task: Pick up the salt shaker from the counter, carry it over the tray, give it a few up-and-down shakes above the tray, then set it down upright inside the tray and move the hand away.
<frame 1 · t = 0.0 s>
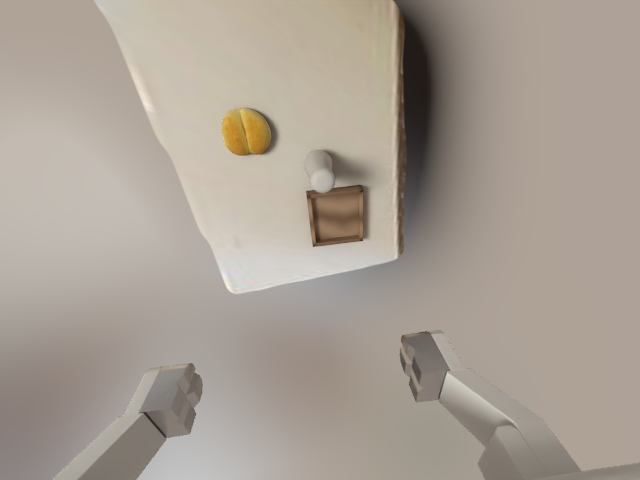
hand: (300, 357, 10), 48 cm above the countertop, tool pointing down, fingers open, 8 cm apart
salt shaker: (317, 161, 54), on the countertop
tray: (335, 214, 61), on the countertop
bread roll: (246, 132, 50), on the countertop
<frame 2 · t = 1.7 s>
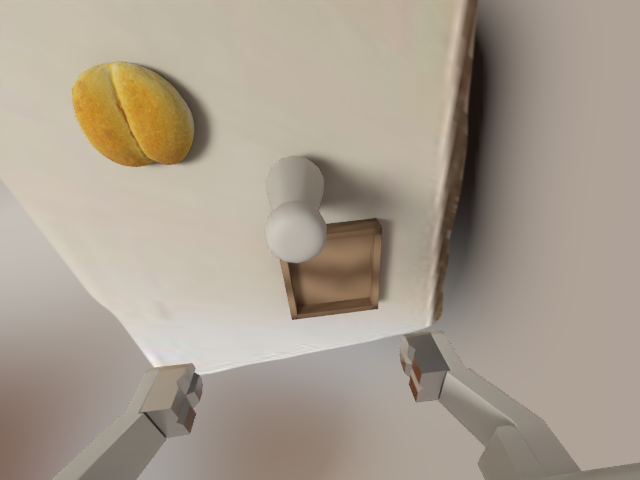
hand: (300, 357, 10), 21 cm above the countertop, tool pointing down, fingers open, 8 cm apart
salt shaker: (295, 177, 28), on the countertop
tray: (330, 266, 35), on the countertop
bread roll: (144, 118, 24), on the countertop
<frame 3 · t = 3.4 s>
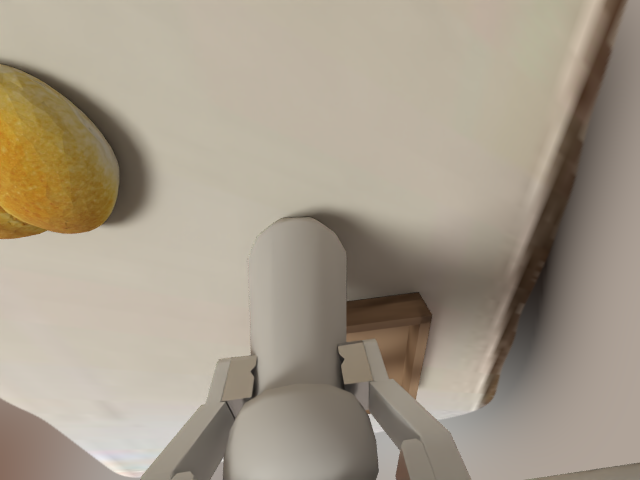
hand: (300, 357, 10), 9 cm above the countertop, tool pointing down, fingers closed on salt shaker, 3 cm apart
salt shaker: (297, 241, 18), on the countertop, touching gripper
tray: (347, 352, 24), on the countertop
bread roll: (32, 155, 14), on the countertop
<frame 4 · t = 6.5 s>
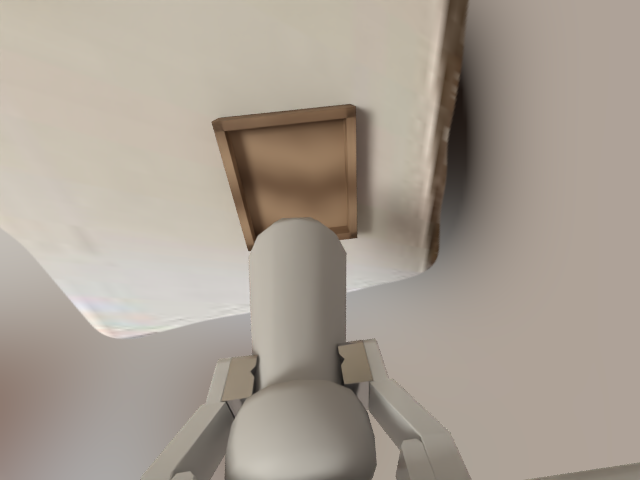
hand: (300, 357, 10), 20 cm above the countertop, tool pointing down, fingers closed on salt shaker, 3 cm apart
salt shaker: (297, 241, 18), point 11 cm above the countertop, touching gripper
tray: (294, 179, 27), on the countertop
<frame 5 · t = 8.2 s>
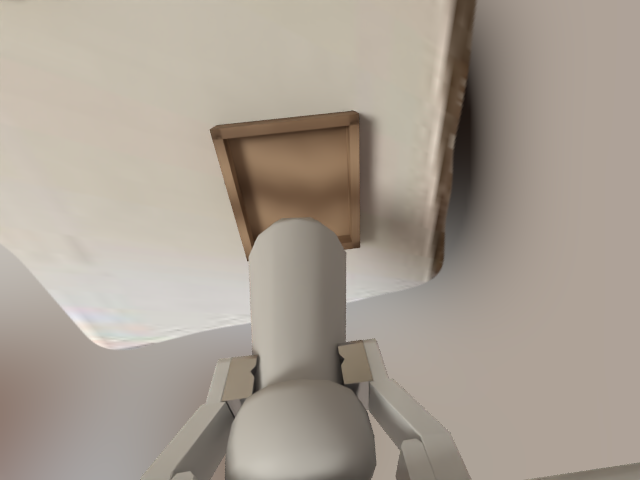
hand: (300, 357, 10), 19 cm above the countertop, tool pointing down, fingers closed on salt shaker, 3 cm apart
salt shaker: (297, 241, 18), point 10 cm above the countertop, touching gripper
tray: (295, 188, 26), on the countertop
when the fingers open (10 cm above the countertop, at t = 9.8 s): salt shaker stays where it is, resting on tray.
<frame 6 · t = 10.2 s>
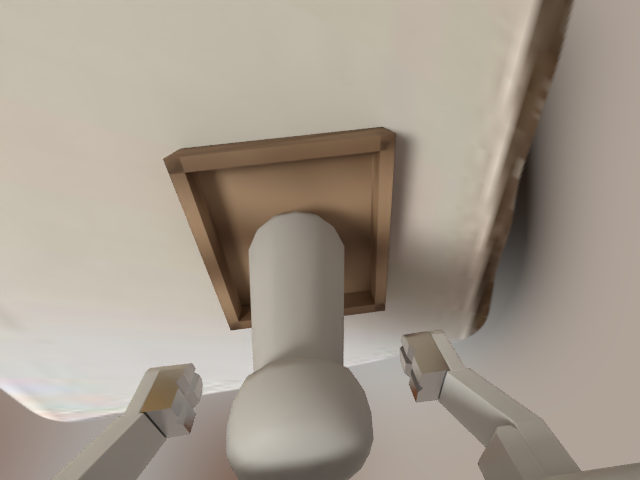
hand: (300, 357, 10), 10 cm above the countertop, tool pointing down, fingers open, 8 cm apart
salt shaker: (296, 236, 18), point 1 cm above the countertop, touching tray
tray: (297, 232, 19), on the countertop
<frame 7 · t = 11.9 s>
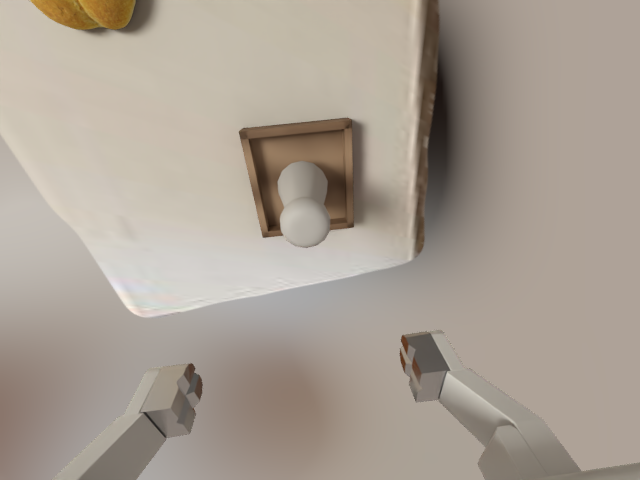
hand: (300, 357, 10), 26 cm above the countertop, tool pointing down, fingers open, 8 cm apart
salt shaker: (302, 179, 33), point 1 cm above the countertop, touching tray
tray: (302, 178, 33), on the countertop
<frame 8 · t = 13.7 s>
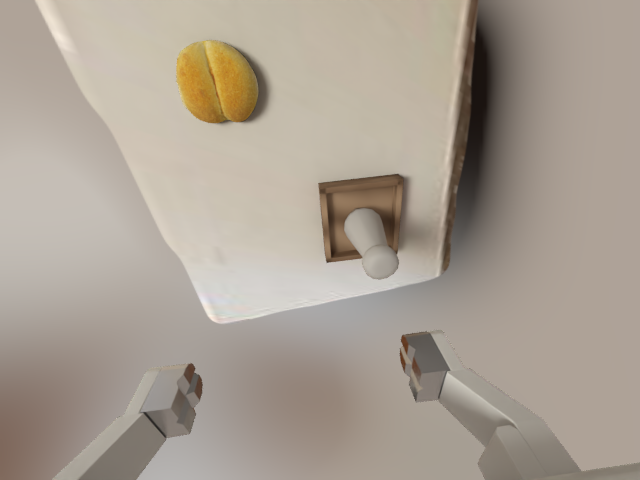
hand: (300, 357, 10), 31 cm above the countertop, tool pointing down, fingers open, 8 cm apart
salt shaker: (359, 218, 42), point 1 cm above the countertop, touching tray
tray: (358, 217, 42), on the countertop
bread roll: (220, 86, 32), on the countertop
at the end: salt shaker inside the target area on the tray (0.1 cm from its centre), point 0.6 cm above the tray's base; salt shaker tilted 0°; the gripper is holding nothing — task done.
